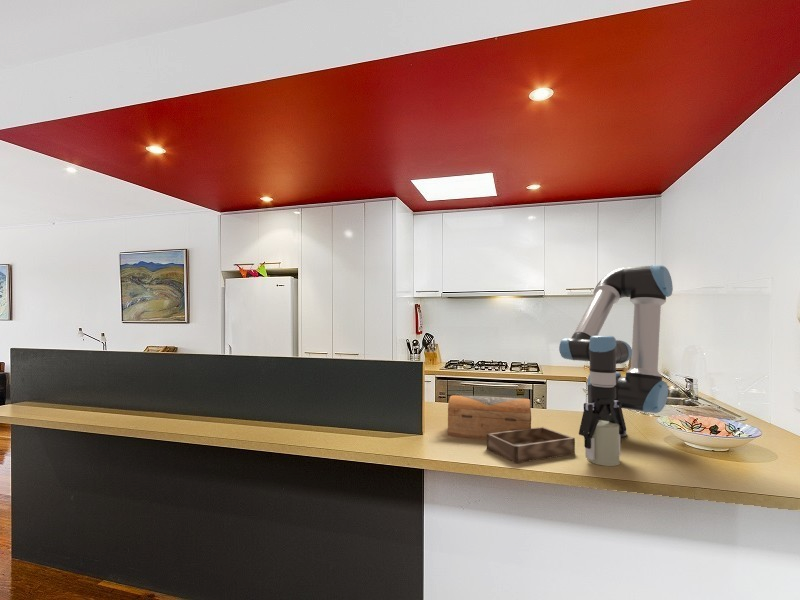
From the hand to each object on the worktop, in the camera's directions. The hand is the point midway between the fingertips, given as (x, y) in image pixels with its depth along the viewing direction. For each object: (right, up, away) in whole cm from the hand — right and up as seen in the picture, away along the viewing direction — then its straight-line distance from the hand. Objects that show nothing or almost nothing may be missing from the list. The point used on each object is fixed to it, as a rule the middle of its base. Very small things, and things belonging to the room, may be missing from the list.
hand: (603, 456), depth 133 cm
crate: (-20, -1, +9) cm, 22 cm away
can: (0, -2, 0) cm, 2 cm away
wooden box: (-29, -2, +30) cm, 42 cm away
